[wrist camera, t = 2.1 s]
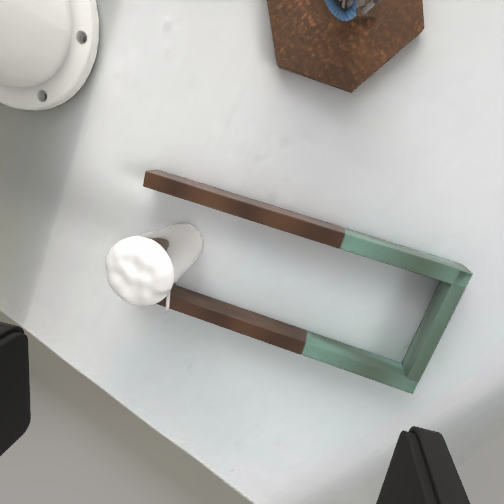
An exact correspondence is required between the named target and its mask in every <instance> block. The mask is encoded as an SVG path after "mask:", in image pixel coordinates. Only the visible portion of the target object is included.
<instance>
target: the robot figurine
mask: <svg viewBox="0 0 504 504" xmlns="http://www.w3.org/2000/svg"><path fill="white" fill-rule="evenodd" d="M267 1H268V8H269V15H270V21H271V28H272V34H273V41H274V47H275V54H276V60H277V65H278V67H280V68H282V69H285V70H288V71H291V72H294V73H297V74H299V75H302V76H305V77H308V78H311V79H314V80H317V81H319V82H322V83H325V84H328V85H331V86H334V87H336V88H339V89H342V90H345V91H348V92H351V93H352V92H353V91H354V90H355V89H356V88H357V87H359V86H360V85H361V84H362V83H363V82H364V81H365V80H367V79H368V78H369V77H370V76H371V75H372V74H374V73H375V72H376V71H377V70H378V69H379V68H380V67H382V66H383V65H384V64H385V63H386V62H387V61H389V60H390V59H391V58H392V57H393V56H394V55H395V54H397V53H398V52H399V51H400V50H401V49H402V48H403V47H405V46H406V45H407V44H408V43H409V42H410V41H412V40H413V39H414V38H415V37H416V36H417V35H418V34H420V33H421V31H422V30H423V29H424V18H423V3H422V0H267Z"/></svg>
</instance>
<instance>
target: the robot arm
mask: <svg viewBox="0 0 504 504" xmlns="http://www.w3.org/2000/svg"><path fill="white" fill-rule="evenodd" d="M86 40H87V41H86ZM98 42H99V17H98V11H97V4H96V0H0V103H2V104H5V105H7V106H9V107H13V108H18V109H23V110H36V111H39V110H46V109H51V108H54V107H56V106H58V105H61V104H63V103H64V102H66V101H67V100H69V99H70V98H71V97H73V96H74V95H75V94H76V93H77V91H78V90H79V89H80V88H81V87H82V86H83V84H84V83H85V81H86V79H87V77H88V76H89V74H90V72H91V70H92V67H93V64H94V61H95V58H96V54H97V48H98ZM30 416H31V415H30V386H29V357H28V338H27V336H26V335H25V334H24V331H23V329H22V328H21V327H19V326H15V325H11V324H7V323H3V322H0V456H1V455H2V454H3V453H4V452H5V451H6V450H7V449H8V448H9V447H10V446H11V445H12V444H13V443H15V442H16V440H18V439H19V438H20V437H21V436H22V435H23V433H25V431H26V430H27V428H28V426H29V423H30V418H31V417H30ZM376 504H470V502H469V500H468V497H467V495H466V492H465V490H464V487H463V485H462V482H461V480H460V478H459V475H458V473H457V470H456V468H455V465H454V463H453V460H452V458H451V455H450V453H449V450H448V448H447V445H446V443H445V440H444V438H443V436H442V434H440V433H439V432H435V431H431V430H427V429H423V428H419V427H415V426H413V427H411V428H410V430H409V432H407V431H402V432H401V433H400V436H399V439H398V442H397V444H396V447H395V450H394V453H393V456H392V459H391V462H390V465H389V468H388V471H387V474H386V477H385V480H384V483H383V486H382V489H381V491H380V494H379V497H378V500H377V503H376Z"/></svg>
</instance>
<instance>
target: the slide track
mask: <svg viewBox="0 0 504 504" xmlns="http://www.w3.org/2000/svg"><path fill="white" fill-rule="evenodd" d="M143 186H144V187H147V188H150V189H153V190H156V191H160V192H163V193H166V194H169V195H172V196H175V197H178V198H182V199H185V200H188V201H191V202H194V203H197V204H200V205H204V206H207V207H210V208H213V209H216V210H219V211H222V212H226V213H229V214H232V215H235V216H238V217H241V218H245V219H248V220H251V221H254V222H257V223H260V224H263V225H267V226H270V227H273V228H276V229H279V230H282V231H285V232H289V233H292V234H295V235H298V236H301V237H304V238H307V239H311V240H314V241H317V242H320V243H323V244H326V245H330V246H333V247H336V248H340V249H342V250H345V251H349V252H352V253H355V254H358V255H361V256H364V257H368V258H371V259H374V260H377V261H380V262H383V263H386V264H390V265H393V266H396V267H399V268H402V269H405V270H408V271H412V272H415V273H418V274H421V275H424V276H427V277H430V278H434V279H437V280H440V281H441V282H440V284H439V286H438V288H437V290H436V292H435V294H434V296H433V298H432V301H431V303H430V305H429V307H428V309H427V311H426V313H425V315H424V317H423V320H422V322H421V324H420V326H419V328H418V330H417V332H416V334H415V336H414V339H413V341H412V343H411V345H410V347H409V349H408V351H407V353H406V355H405V358H404V360H403V362H402V364H401V363H398V362H396V361H393V360H390V359H387V358H384V357H381V356H378V355H375V354H372V353H369V352H367V351H364V350H361V349H358V348H355V347H352V346H349V345H346V344H343V343H340V342H338V341H335V340H332V339H329V338H326V337H323V336H320V335H317V334H314V333H311V332H309V331H306V330H303V329H300V328H297V327H295V326H292V325H289V324H286V323H283V322H280V321H277V320H274V319H271V318H268V317H266V316H263V315H260V314H257V313H254V312H251V311H248V310H245V309H242V308H239V307H237V306H234V305H231V304H228V303H225V302H222V301H219V300H216V299H213V298H211V297H208V296H205V295H202V294H199V293H196V292H193V291H190V290H187V289H184V288H182V287H179V286H176V285H174V287H173V288H172V289H171V291H170V304H169V308H170V309H173V310H176V311H179V312H181V313H184V314H187V315H190V316H193V317H196V318H198V319H201V320H204V321H207V322H210V323H213V324H215V325H218V326H221V327H224V328H227V329H230V330H232V331H235V332H238V333H241V334H244V335H247V336H249V337H252V338H255V339H258V340H261V341H264V342H266V343H269V344H272V345H275V346H278V347H281V348H284V349H286V350H289V351H292V352H295V353H298V354H302V355H304V356H307V357H310V358H312V359H315V360H318V361H321V362H324V363H327V364H329V365H332V366H335V367H338V368H341V369H344V370H346V371H349V372H352V373H355V374H358V375H361V376H363V377H366V378H369V379H372V380H375V381H378V382H380V383H383V384H386V385H389V386H392V387H395V388H397V389H400V390H403V391H406V392H409V393H412V394H413V392H414V390H415V388H416V386H417V384H418V382H419V380H420V378H421V376H422V374H423V372H424V370H425V368H426V366H427V364H428V362H429V360H430V358H431V356H432V354H433V352H434V350H435V348H436V346H437V344H438V342H439V340H440V338H441V336H442V334H443V332H444V330H445V328H446V326H447V324H448V322H449V320H450V318H451V316H452V314H453V312H454V310H455V308H456V306H457V304H458V302H459V300H460V298H461V296H462V294H463V292H464V290H465V288H466V286H467V284H468V282H469V280H470V278H471V276H472V274H473V273H472V272H470V271H469V270H468V269H467V268H466V267H465V266H464V265H462V264H459V263H455V262H452V261H449V260H446V259H443V258H439V257H436V256H433V255H430V254H427V253H423V252H420V251H417V250H414V249H410V248H407V247H404V246H401V245H398V244H394V243H391V242H388V241H385V240H382V239H378V238H375V237H372V236H369V235H365V234H362V233H359V232H356V231H353V230H349V229H346V228H345V229H344V228H343V227H340V226H337V225H333V224H330V223H327V222H324V221H321V220H317V219H314V218H311V217H308V216H305V215H301V214H298V213H295V212H292V211H288V210H285V209H282V208H279V207H276V206H272V205H269V204H266V203H263V202H260V201H256V200H253V199H250V198H247V197H244V196H240V195H237V194H234V193H231V192H227V191H224V190H221V189H218V188H215V187H211V186H208V185H205V184H202V183H199V182H195V181H192V180H189V179H186V178H182V177H179V176H176V175H173V174H170V173H166V172H163V171H160V170H151V171H146V173H145V178H144V184H143ZM166 299H167V296H166V297H165V298H164V299H163V300H161V301H160V302H158V303H156V304H159V305H162V306H164V307H166Z"/></svg>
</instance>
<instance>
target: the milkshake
mask: <svg viewBox="0 0 504 504" xmlns="http://www.w3.org/2000/svg"><path fill="white" fill-rule="evenodd" d="M203 242H204V241H203V238H202V236H201V234H200V231H199V230H198V229H197V228H195V227H194V226H192V225H191V224H189V223H179V224H174V225H170V226H167V227H164V228H161V229H157V230H154V231H151V232H148V233H144V234H140V235H135V236H131V237H128V238H125V239H123V240H121V241H119V242H117V243H116V244H115V245H114V246H113V247H112V249H111V250H110V252H109V254H108V257H107V261H106V273H107V279H108V283H109V285H110V287H111V289H112V290H113V291H114V292H115V293H116V294H117V295H118V296H119V297H120V298H122V299H123V300H124V301H125V302H127V303H129V304H132V305H154V304H156V303H158V302H160V301H161V300H163V299H164V298H165V297H166V296H167V299H166V312H165V314H166V313H167V312H168V310H169V304H170V291H171V289H172V288H173V287H174V285H175V284H176V283H177V281H178V280H179V279H180V277H181V276H182V275H183V274H184V273H185V271H186V270H187V269H188V268H189V267H190V266H191V264H192V263H193V262H194V261H195V260H196V259H197V257H198V256H199V255H200V254H201V252H202V247H203Z"/></svg>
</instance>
